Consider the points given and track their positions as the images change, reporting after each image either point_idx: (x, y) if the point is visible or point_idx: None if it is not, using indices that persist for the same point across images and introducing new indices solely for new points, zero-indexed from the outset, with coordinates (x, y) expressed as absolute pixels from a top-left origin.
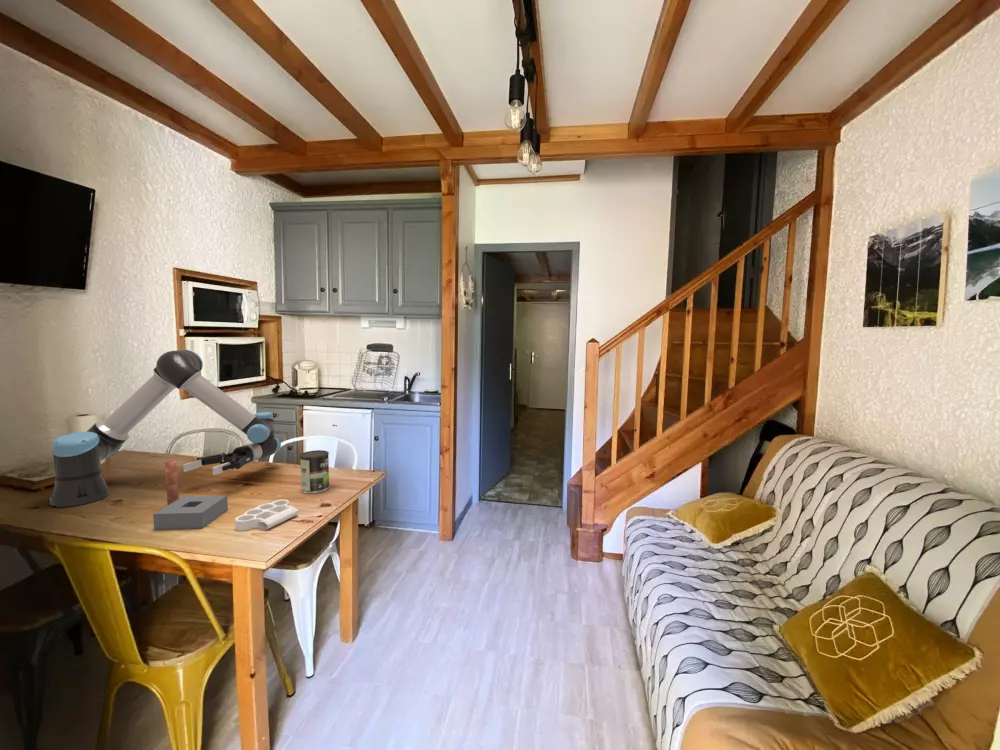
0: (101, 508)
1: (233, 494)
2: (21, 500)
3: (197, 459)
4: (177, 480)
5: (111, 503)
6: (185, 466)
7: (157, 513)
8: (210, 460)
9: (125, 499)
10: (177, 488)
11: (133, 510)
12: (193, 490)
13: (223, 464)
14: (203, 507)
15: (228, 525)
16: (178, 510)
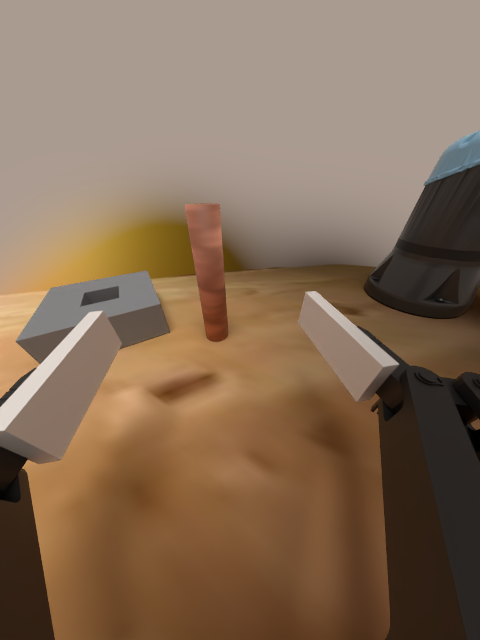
0: (322, 295)
1: (92, 478)
2: None
3: (458, 378)
4: (199, 280)
5: (341, 304)
6: (304, 302)
7: (141, 272)
8: (406, 467)
9: (353, 317)
10: (201, 300)
11: (266, 305)
12: (310, 418)
13: (41, 367)
14: (60, 295)
15: (13, 331)
16: (110, 281)
